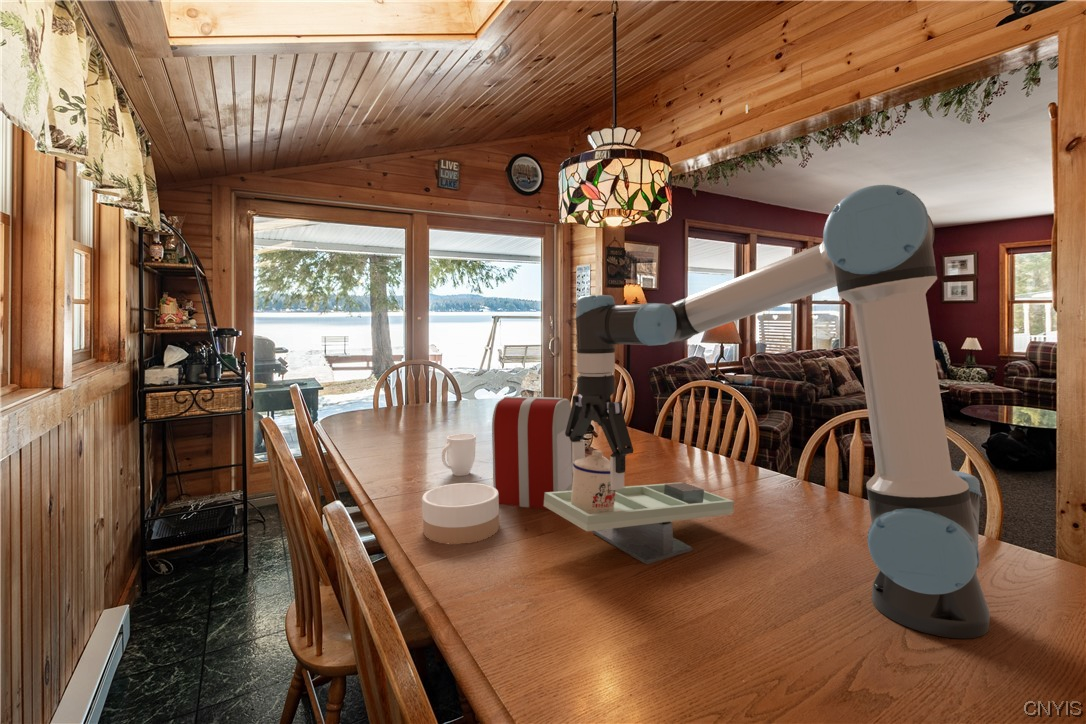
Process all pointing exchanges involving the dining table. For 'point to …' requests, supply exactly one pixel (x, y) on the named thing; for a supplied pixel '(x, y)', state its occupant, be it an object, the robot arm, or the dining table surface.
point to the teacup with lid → (592, 484)
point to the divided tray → (637, 508)
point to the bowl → (460, 513)
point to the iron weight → (684, 492)
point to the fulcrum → (645, 541)
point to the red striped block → (531, 449)
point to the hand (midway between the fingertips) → (597, 480)
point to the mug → (460, 453)
